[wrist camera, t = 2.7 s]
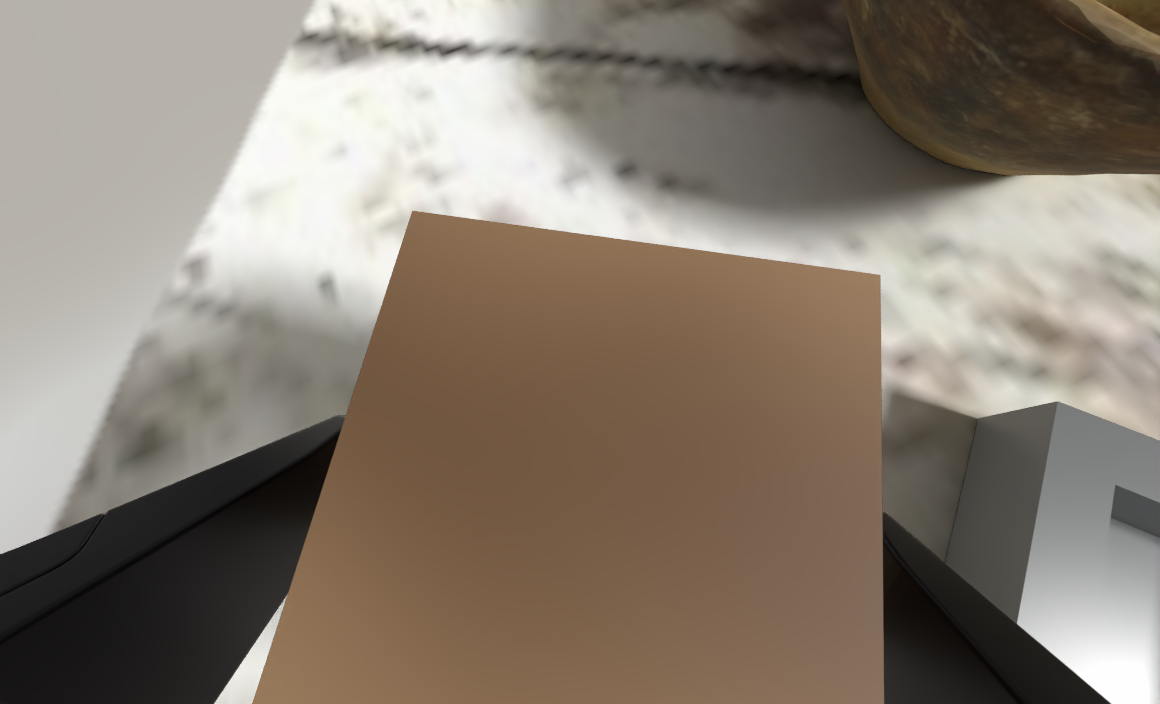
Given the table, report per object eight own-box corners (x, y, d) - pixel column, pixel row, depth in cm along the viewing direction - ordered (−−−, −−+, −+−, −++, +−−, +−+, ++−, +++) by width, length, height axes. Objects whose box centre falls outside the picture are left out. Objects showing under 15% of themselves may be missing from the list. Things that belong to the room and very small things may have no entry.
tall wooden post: (654, 578, 15) (886, 901, 3) (520, 552, 16) (240, 742, 3) (671, 441, 17) (880, 275, 4) (546, 420, 17) (413, 210, 5)
